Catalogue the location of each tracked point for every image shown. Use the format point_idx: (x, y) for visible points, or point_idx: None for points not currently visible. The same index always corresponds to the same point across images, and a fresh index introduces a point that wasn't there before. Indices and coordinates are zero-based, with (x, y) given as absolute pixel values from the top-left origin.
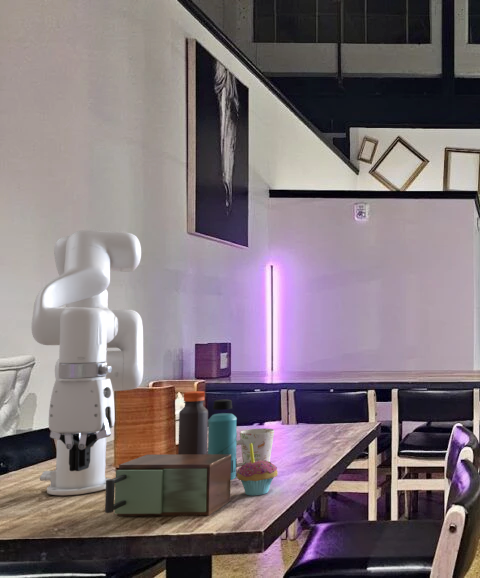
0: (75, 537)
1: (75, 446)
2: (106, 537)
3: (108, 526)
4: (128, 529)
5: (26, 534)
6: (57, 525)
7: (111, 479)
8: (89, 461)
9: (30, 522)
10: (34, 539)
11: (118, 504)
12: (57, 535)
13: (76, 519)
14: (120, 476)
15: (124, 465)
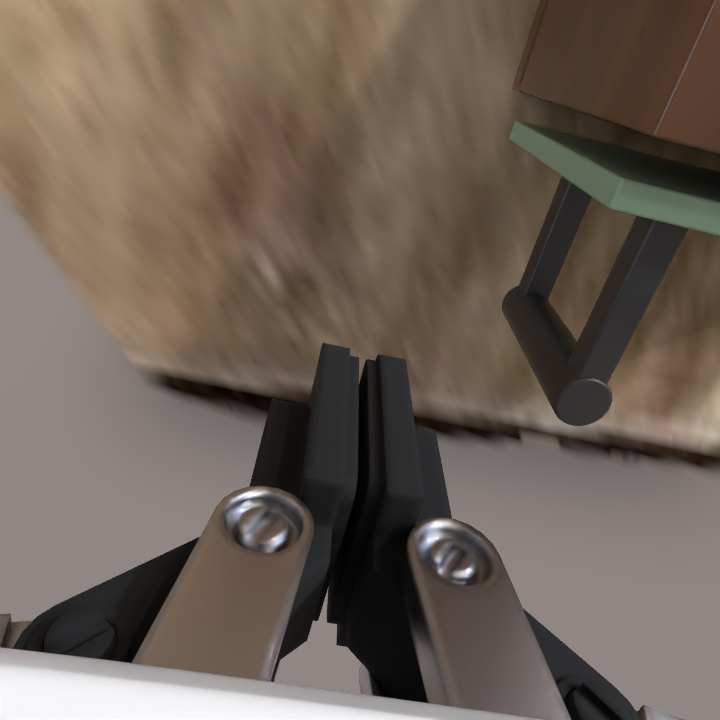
0: None
1: (304, 638)
2: (532, 434)
3: (506, 287)
4: None
5: (174, 325)
6: (242, 208)
7: (590, 394)
8: (432, 443)
9: (49, 104)
10: (252, 399)
11: (567, 252)
12: None
13: (292, 104)
14: (644, 286)
15: (708, 149)
